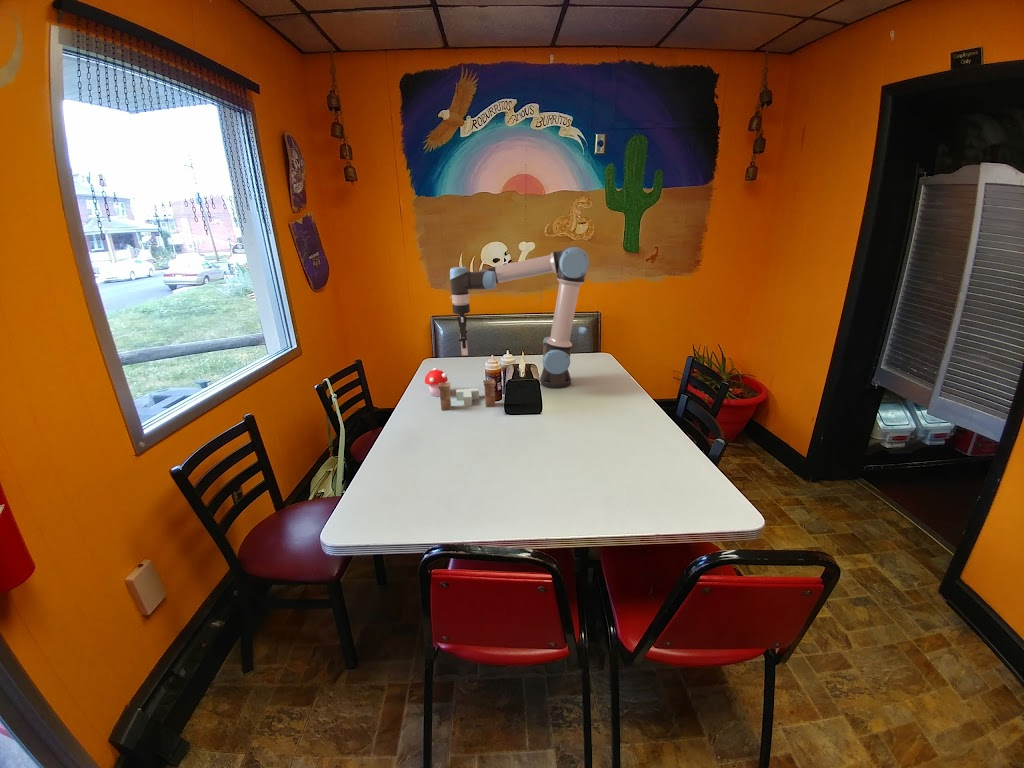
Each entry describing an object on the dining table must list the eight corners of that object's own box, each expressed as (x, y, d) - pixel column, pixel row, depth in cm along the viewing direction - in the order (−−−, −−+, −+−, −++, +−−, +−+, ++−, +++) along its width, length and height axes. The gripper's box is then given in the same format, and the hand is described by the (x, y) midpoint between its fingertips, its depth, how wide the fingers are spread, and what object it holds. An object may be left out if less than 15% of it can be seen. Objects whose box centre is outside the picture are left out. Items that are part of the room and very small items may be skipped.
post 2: (495, 402, 196) (494, 379, 192) (496, 406, 191) (495, 383, 188) (484, 403, 195) (483, 380, 192) (485, 407, 191) (483, 383, 187)
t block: (478, 396, 204) (478, 388, 203) (479, 404, 194) (479, 396, 193) (456, 397, 203) (456, 389, 202) (456, 406, 193) (456, 397, 192)
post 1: (451, 405, 194) (450, 382, 190) (451, 409, 189) (449, 386, 186) (440, 406, 194) (438, 383, 190) (440, 410, 189) (438, 386, 185)
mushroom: (447, 398, 203) (445, 373, 199) (423, 398, 203) (420, 373, 199) (450, 390, 213) (448, 366, 209) (428, 390, 213) (425, 366, 209)
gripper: (452, 299, 205) (455, 344, 212) (452, 309, 182) (456, 359, 189) (468, 299, 206) (471, 343, 213) (470, 308, 183) (474, 358, 190)
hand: (464, 351), depth 201 cm, fingers open, 12 cm apart
